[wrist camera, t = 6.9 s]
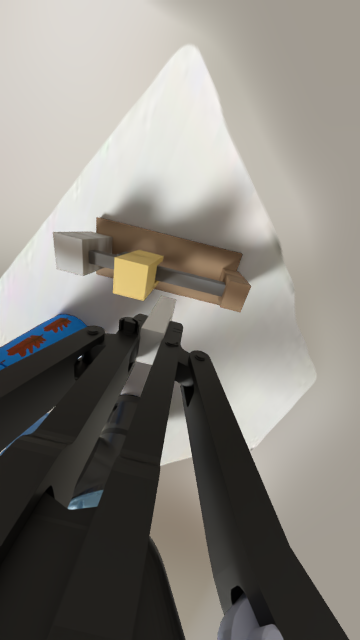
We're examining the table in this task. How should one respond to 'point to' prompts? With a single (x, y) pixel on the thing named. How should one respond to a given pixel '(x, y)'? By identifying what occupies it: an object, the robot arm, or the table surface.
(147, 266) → the sleeve
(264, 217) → the table surface
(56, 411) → the robot arm
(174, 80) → the table surface
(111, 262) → the rod stand
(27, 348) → the thermos
